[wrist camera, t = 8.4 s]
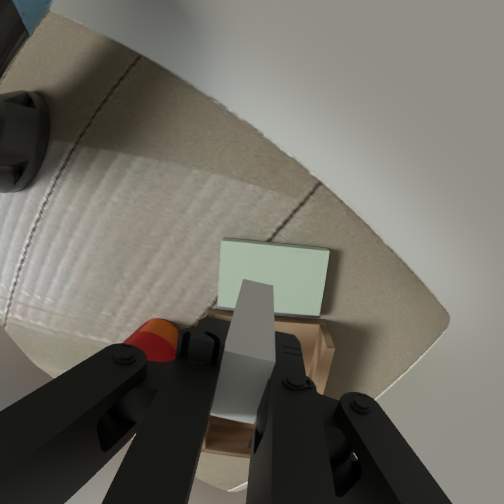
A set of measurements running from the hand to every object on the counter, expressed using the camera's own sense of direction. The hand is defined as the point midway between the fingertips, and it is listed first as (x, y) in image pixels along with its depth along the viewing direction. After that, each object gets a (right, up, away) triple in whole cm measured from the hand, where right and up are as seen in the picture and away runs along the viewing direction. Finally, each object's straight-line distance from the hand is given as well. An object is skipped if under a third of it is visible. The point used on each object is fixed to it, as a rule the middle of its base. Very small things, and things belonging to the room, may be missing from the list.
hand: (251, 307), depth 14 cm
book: (+2, -4, +17) cm, 17 cm away
